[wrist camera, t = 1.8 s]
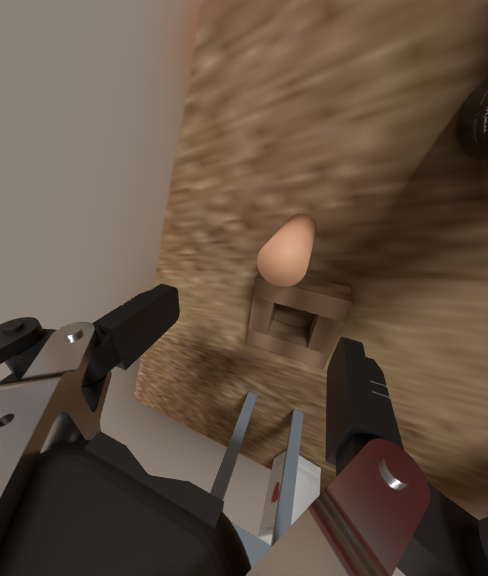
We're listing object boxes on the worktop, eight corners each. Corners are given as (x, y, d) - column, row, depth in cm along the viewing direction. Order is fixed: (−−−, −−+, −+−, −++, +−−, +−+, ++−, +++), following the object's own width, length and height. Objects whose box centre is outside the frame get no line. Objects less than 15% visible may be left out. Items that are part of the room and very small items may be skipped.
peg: (320, 217, 24) (313, 245, 15) (311, 248, 27) (300, 292, 17) (287, 211, 26) (260, 234, 16) (281, 242, 28) (254, 280, 18)
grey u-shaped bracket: (324, 364, 34) (317, 617, 15) (301, 418, 43) (276, 622, 23) (257, 341, 38) (176, 526, 18) (248, 396, 46) (186, 560, 26)
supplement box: (287, 446, 50) (274, 535, 38) (321, 467, 49) (318, 565, 37) (272, 457, 55) (256, 538, 43) (303, 476, 54) (295, 565, 42)
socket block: (350, 286, 27) (352, 302, 24) (323, 350, 33) (323, 369, 30) (263, 266, 30) (255, 277, 27) (254, 327, 36) (246, 343, 33)
